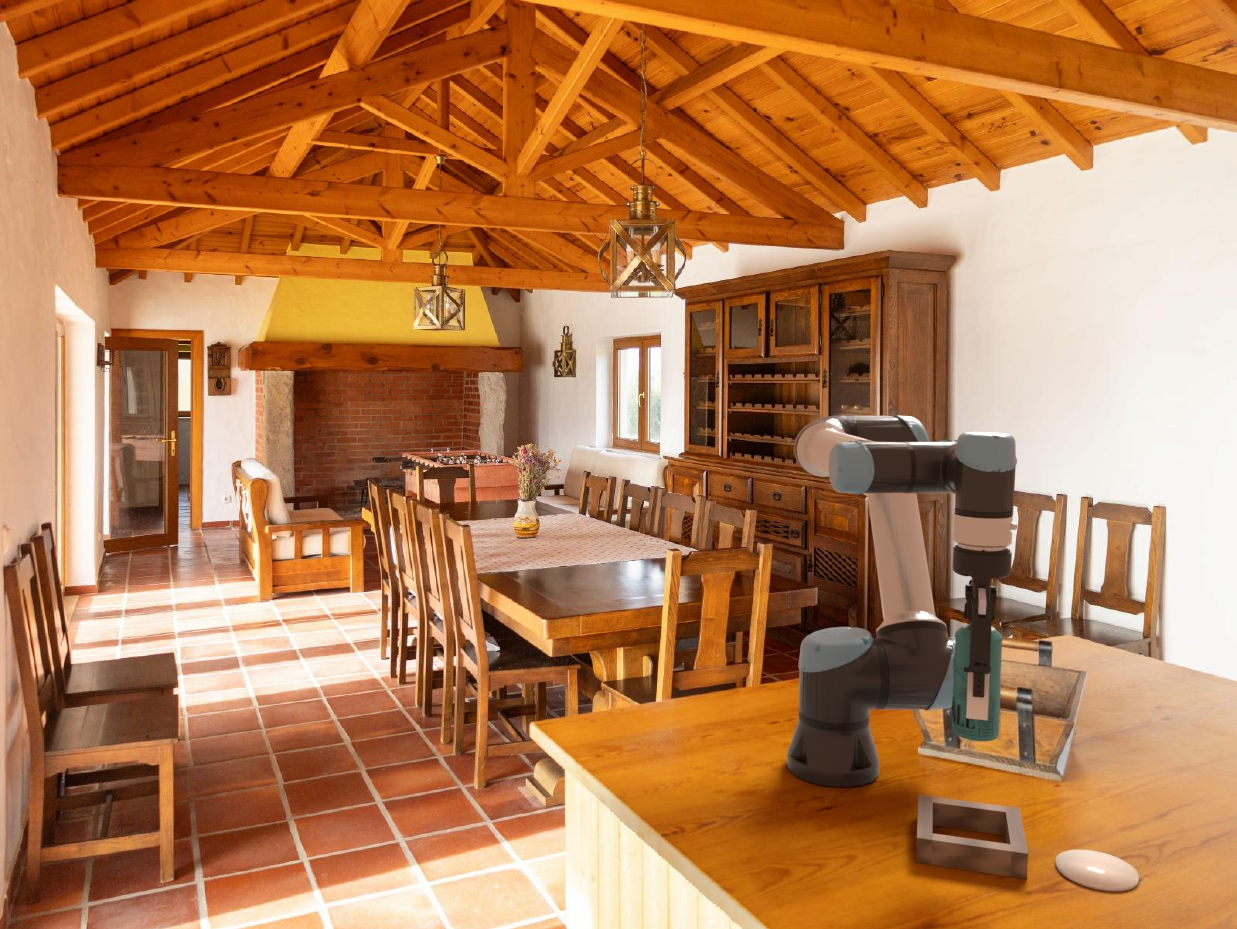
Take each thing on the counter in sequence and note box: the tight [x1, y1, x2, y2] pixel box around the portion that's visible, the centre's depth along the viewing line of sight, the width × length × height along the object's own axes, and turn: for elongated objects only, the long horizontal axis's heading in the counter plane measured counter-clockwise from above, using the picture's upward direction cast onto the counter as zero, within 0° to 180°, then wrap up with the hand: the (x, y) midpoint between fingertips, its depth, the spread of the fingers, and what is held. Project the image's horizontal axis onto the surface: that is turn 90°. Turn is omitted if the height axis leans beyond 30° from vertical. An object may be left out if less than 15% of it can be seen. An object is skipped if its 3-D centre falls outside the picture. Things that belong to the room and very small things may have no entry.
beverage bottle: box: [950, 601, 1004, 742], centre depth 134 cm, size 6×7×20 cm
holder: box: [915, 794, 1029, 880], centre depth 136 cm, size 14×14×4 cm
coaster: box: [1055, 849, 1140, 893], centre depth 130 cm, size 10×10×1 cm
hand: (976, 709), depth 135 cm, fingers closed on beverage bottle, 6 cm apart
